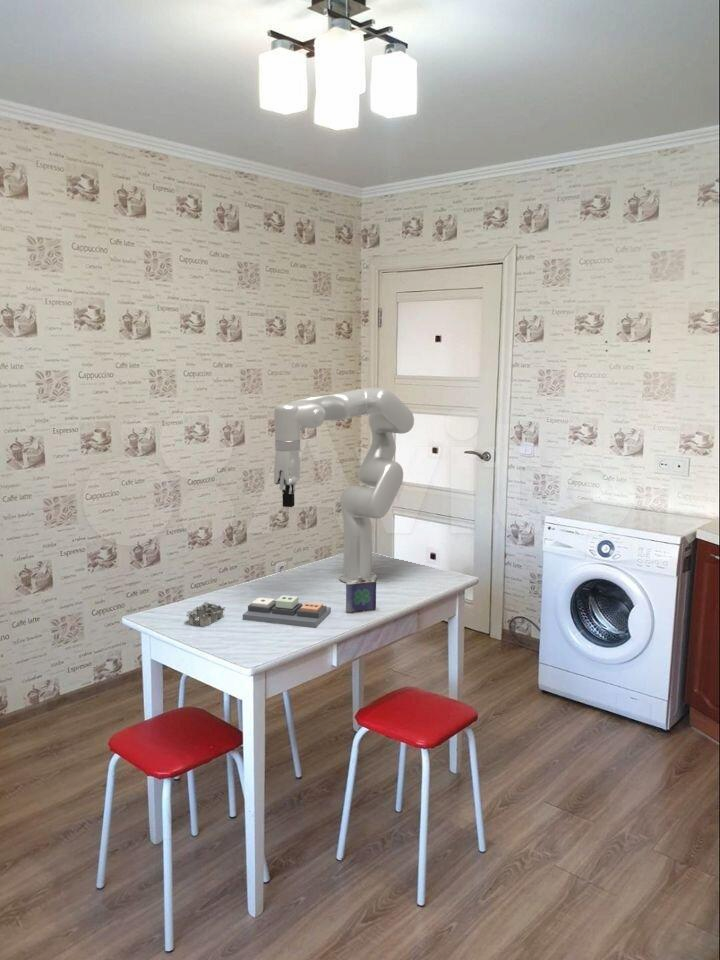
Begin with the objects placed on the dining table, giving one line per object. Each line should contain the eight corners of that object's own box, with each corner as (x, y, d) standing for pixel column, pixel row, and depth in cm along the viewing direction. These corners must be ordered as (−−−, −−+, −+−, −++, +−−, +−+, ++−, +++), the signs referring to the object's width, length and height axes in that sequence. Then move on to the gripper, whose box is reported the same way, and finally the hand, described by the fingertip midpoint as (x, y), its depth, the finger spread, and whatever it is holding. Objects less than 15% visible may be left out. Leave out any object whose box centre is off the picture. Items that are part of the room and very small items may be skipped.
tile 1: (258, 604, 223) (258, 596, 222) (274, 605, 221) (274, 598, 221) (251, 609, 218) (251, 602, 218) (267, 611, 217) (267, 603, 216)
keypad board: (261, 605, 227) (261, 595, 227) (330, 612, 221) (330, 602, 220) (242, 619, 215) (242, 609, 214) (315, 627, 209) (315, 617, 208)
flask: (347, 614, 220) (347, 578, 218) (344, 610, 222) (344, 575, 221) (377, 610, 223) (377, 575, 221) (373, 607, 225) (374, 572, 224)
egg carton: (206, 629, 209) (205, 614, 208) (183, 624, 212) (183, 610, 211) (228, 616, 218) (227, 603, 217) (206, 612, 221) (205, 599, 221)
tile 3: (306, 608, 219) (306, 601, 218) (322, 610, 217) (322, 603, 217) (300, 614, 214) (300, 607, 214) (317, 616, 212) (316, 608, 212)
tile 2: (282, 601, 220) (282, 594, 220) (298, 603, 219) (298, 596, 219) (275, 607, 216) (275, 599, 215) (292, 608, 214) (291, 601, 214)
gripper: (285, 442, 233) (286, 501, 236) (265, 448, 219) (267, 510, 222) (308, 443, 231) (308, 502, 234) (290, 449, 217) (290, 512, 220)
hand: (288, 506), depth 228 cm, fingers closed
